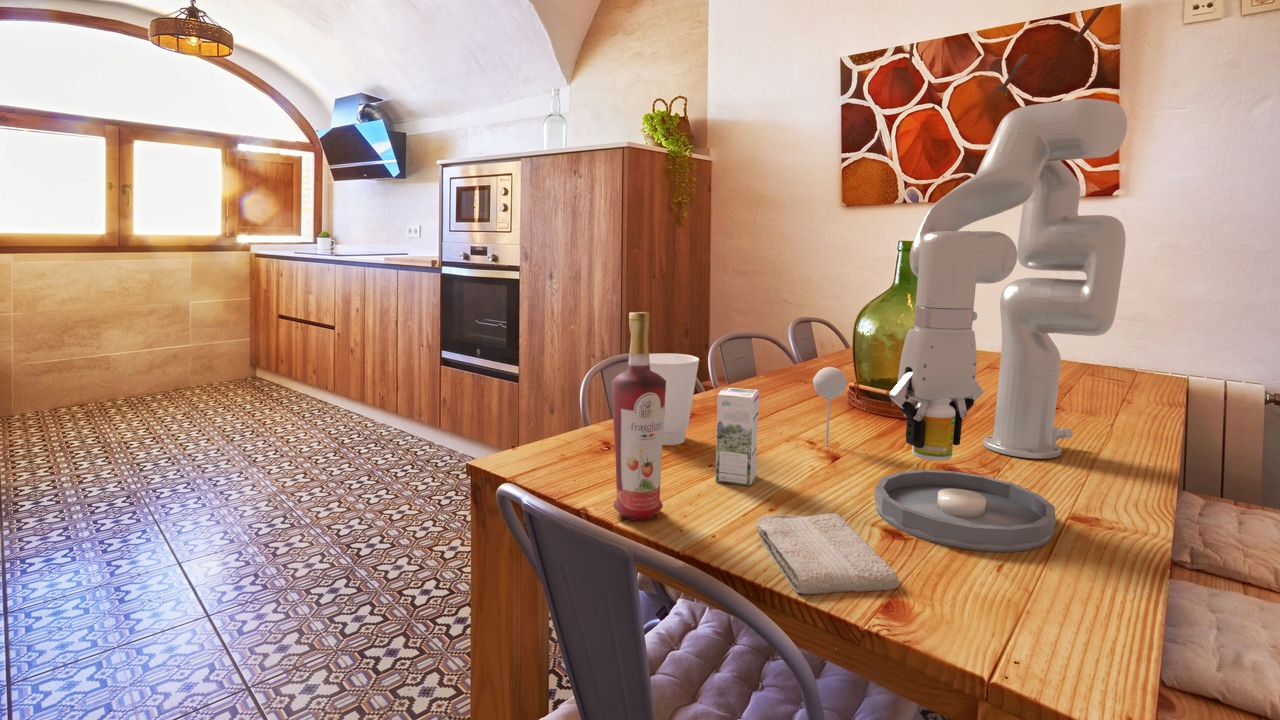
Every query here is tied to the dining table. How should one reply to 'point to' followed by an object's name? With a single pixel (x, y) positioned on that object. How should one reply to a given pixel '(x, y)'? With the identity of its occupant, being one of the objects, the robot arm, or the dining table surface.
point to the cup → (676, 392)
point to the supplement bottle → (937, 431)
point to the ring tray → (965, 510)
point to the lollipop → (829, 387)
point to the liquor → (638, 428)
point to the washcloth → (823, 555)
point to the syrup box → (737, 435)
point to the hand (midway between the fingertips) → (932, 442)
